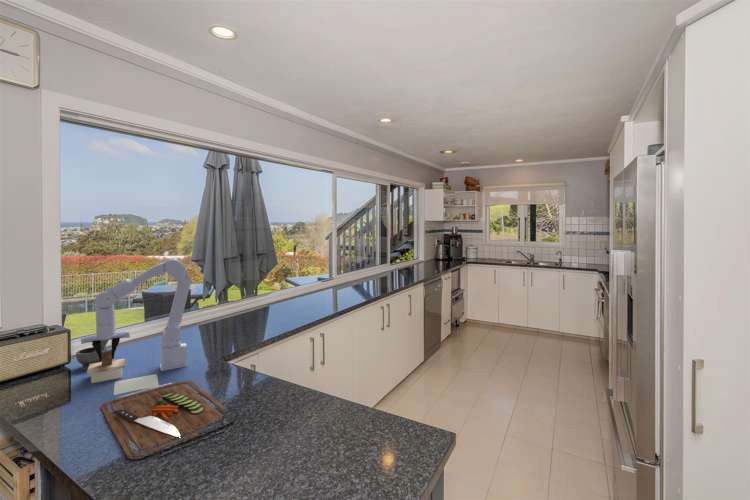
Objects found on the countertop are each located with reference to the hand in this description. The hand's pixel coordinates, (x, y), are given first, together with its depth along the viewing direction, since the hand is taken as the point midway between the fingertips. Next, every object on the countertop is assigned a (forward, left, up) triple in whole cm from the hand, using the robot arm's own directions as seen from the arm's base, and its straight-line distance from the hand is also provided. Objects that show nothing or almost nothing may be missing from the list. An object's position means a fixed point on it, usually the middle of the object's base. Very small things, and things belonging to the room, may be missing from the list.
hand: (106, 359), depth 134 cm
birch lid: (0, 0, -3) cm, 3 cm away
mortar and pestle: (+5, -17, -7) cm, 19 cm away
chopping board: (-16, +43, -8) cm, 47 cm away
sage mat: (-9, +14, -7) cm, 18 cm away
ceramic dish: (0, 0, -7) cm, 7 cm away
